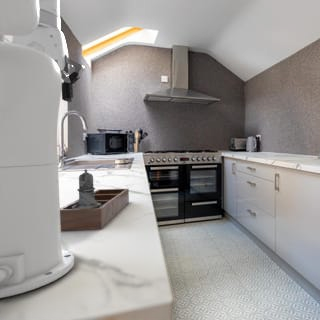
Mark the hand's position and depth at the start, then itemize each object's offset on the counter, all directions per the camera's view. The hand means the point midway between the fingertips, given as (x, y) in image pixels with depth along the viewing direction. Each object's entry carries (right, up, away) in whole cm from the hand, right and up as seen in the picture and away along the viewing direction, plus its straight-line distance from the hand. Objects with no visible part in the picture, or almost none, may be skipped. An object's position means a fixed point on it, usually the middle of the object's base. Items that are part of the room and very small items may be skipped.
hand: (44, 100), depth 60 cm
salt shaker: (+11, -28, -1) cm, 30 cm away
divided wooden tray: (+9, -28, +7) cm, 30 cm away
